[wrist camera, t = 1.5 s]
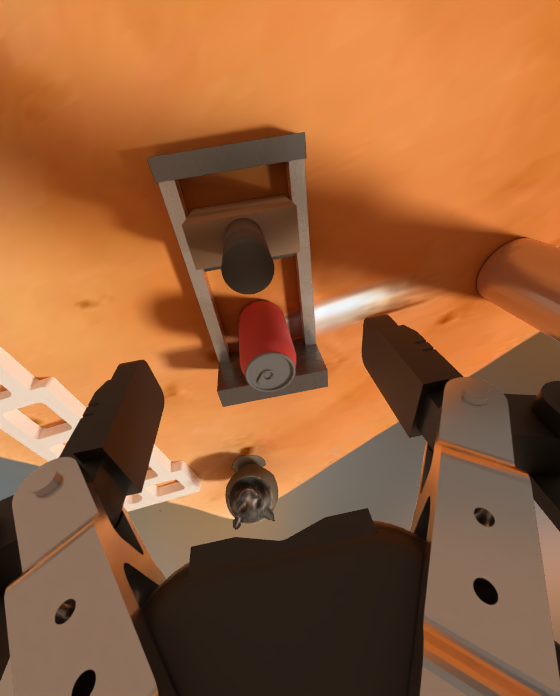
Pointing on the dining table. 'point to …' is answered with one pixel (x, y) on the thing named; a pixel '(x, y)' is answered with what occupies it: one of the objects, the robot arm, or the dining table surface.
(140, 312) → the dining table surface
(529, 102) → the dining table surface
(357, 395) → the dining table surface
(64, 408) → the holder
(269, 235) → the sliding jaw
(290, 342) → the beer can
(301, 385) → the frame
